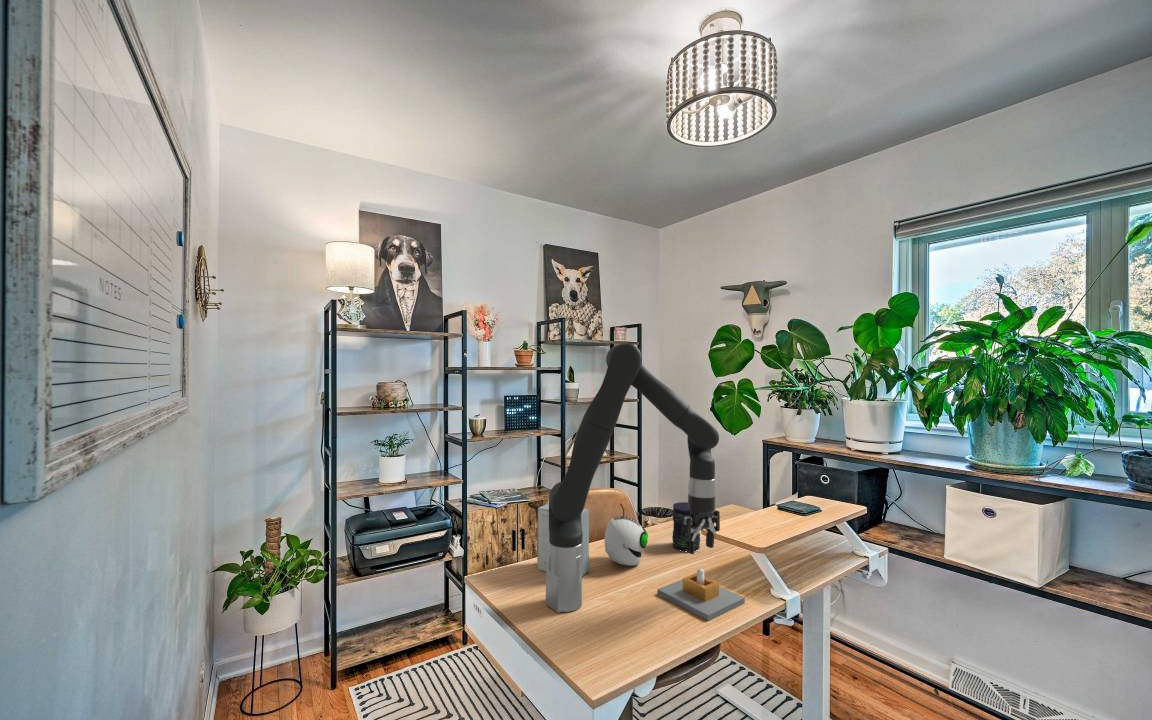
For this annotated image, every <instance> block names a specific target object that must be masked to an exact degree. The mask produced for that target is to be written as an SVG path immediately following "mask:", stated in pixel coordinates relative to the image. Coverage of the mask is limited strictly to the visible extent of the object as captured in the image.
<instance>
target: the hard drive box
mask: <svg viewBox="0 0 1152 720" xmlns="http://www.w3.org/2000/svg"><path fill="white" fill-rule="evenodd" d="M589 515H590V510H589V509H588V508H584V509H583V511H582V513H581V524H582V533H583V541H582V577H584V576H585V575H586V574H587V573H589V571H590V554H589V553H590V550H589V549H590V547H589V546H590V541H589V540H590V526H589V525H590V520H589V519H590V516H589ZM536 546H537V561H536V562H537V563H536V565H537V567H536V568H537V570H540V571H543V572H546V570H547V569H549V503H545V504H544V505H541V506H539V507H537V545H536Z"/></svg>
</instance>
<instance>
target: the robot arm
mask: <svg viewBox="0 0 1152 720" xmlns="http://www.w3.org/2000/svg"><path fill="white" fill-rule="evenodd" d="M605 364H606V366H607V367H606V371H605V375H604V377H603V380H602V382H601V385H600V387H599V389H598V392H597V393H596V394H595V396H594V397H593V398H592V401H591V402H590V404H589V406H588V407H587V409H586V410H585V413H584V414H583V417H582V419H581V421H580V424H579V427H578V429H577V432H576V433H575V438H574V442H573V446H572V450H571V451H572V452H571V456H570V460H569V461H570V462H569V465H568V467H567V470H566V472H565V475H564V477H563V479H562V481H559V482H557V483H556V484H555V485H553V487H552V488H551V490H550V492H549V495H548V496H549V497H548V504H549V569H547V570H546V571H545V606H548V607H549V608H550V609H552V610H553V611H554V612H556V614H559V613H568V612H569V613H570V612H574V611H577V610H580V608H581V607H582V606H583V576H582V541H583V533H582V524H581V513H582V511H583V509H585V505H586V502H587V498H588V495H589V492H590V488H591V485H592V482H593V479H594V476H595V474H596V471H597V470H598V467H599V465H600V464H601V461H602V459H603V457H604V454H605V452H606V450H607V447H608V445H609V443H610V441H611V438H612V435H613V433H614V431H615V427H616V425H617V423H618V420H619V416H620V414H621V410H622V408H623V404H624V401H625V398H626V397H627V394H628V393H629V390H630V388H631V386H632V387H633V388H634V389H636V390H637V391H638V392H639V393H640V394H641V395H642V396H644V397H645V398H646V399H647V400H648V401H649V403H651V404H652V406H654V407H655V409H657V410H658V411H659V412H660V413H661V414H662V415H663V416H664V417H665V418H666V419H667V420H668V421H669V422H670V423H672V424H673V425H674V426H675V427H677V428H678V429H680V430H681V431H682V432H683V433H685V435H687V438H686V439H687V440H686V441H687V448H688V449H687V450H688V456H689V479H688V487H687V488H688V489H687V492H688V493H687V503H688V508H689V510H690V512H691V513H690V516H689V517H685V516H683V517H682V525H681V538H684V539H686V551H687V552H686V553H687V554H690V555H694V554H695V552H694V550H695V541H694V540H695V537H696V535H697V534H699V533H701V531H703V530H705V531H706V533H705V535H706V537H705V545H706V547H708V548H710V549H712V548H714V547H715V546H714V544H715V535H716V533H717V532H720V530H721V525H720V524H721V519H720V517H721V515H720V513H721V512H720V510H719V511H718V510H716V489H717V487H716V463H715V459H714V458H713V456H712V449H714V448H715V447H716V446H717V445H718V444H719V441H720V435H719V431H718V430H717V429H716V428H715V426H714V425H713V424H712V423H710V422H709V421H708V420H707V419H705V418H704V417H703V416H702V415H700V414H699V413H697V412H696V411H695V409H693V408H692V406H691V405H689V404H688V403H687V402H686V401H685V399H684V398H682V396H680V395H679V394H678V393H676V391H674V390H673V389H671V388H670V387H669V386H668V385H666V384H665V383H663V382H662V381H661V380H659V379H658V378H657V377H656V376H654V375H653V374H652V373H651V372H650V370H648V369H647V368H646V367H645V365H643V357H642V353H641V350H640V349H639V348H638V347H637V346H636V345H635V344H632V343H628V342H627V343H626V342H625V343H620V344H616V345H614V346H612V347H611V348H610V349H609V350H608V351H607V354H606V356H605ZM692 527H694V528H695V529H692ZM685 530H686V531H687V533H686V534H685ZM691 533H693V534H692V536H691Z"/></svg>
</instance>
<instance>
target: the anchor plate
mask: <svg viewBox="0 0 1152 720" xmlns="http://www.w3.org/2000/svg"><path fill="white" fill-rule="evenodd" d="M696 573H697V583H699V584H701V585H704V577H705V571H704V569H702V568H698V569H697V570H696ZM657 595H658V596H660V597H662V598H664V599H666V600H668V601H670V602H672V603H673V604H675V605H677V606H678V607H679V606H680V607H681V608H683V609H685V610H686V611H688V612H691V613H692V614H694V615H696V616H698V617H700V618H702V619H704V620H706V621H708V622H709V621H712V620H713V619H716V618H717V617H720V616H721V615H722V616H723V614H725V613H727V612H729V611H731V610H734V609H736V608H738V607H740V606H742V605H744V604H745V600H746V599H745V596H744V597H743V596H741V595H739V594H738V593H735V592H733V591H731V590H728V589H726V588H725V587H724V588H723V587H722V586H720V585H719V596H717V597H715V598H713V599H711V600H708V601H706V602H704V601H702V600H700V599H698V598H696V597H694V596H692V595H690V594H688V593H686V592H684V591H683V578H682V579H680V580H677V581H675V582H672V583H670V584H667V585H664V586H662V587H659V588H657Z"/></svg>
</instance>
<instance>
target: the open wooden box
mask: <svg viewBox="0 0 1152 720" xmlns="http://www.w3.org/2000/svg"><path fill="white" fill-rule="evenodd" d="M682 579H683V591H684V592H686V593H688V594H690V595H692V596H694V597H696V598H698V599H700V600H702V601H704V602H706V601H708V600H711V599H713V598H715V597H717V596H719V586H720V583H719V582H718V581H715V580H713V579H710V578H708V577H706V576H704V585H701V584H699V583H697V572H695V573H693V574H690V575H687V576H684V577H682Z"/></svg>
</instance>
